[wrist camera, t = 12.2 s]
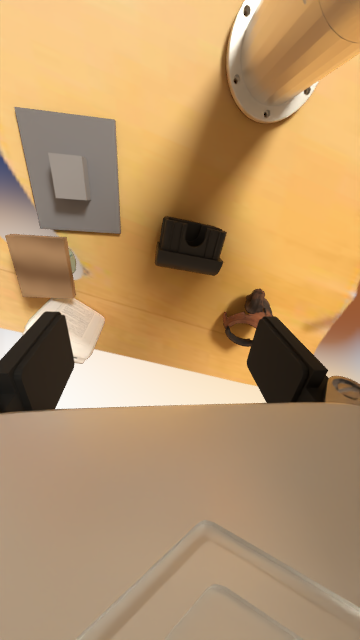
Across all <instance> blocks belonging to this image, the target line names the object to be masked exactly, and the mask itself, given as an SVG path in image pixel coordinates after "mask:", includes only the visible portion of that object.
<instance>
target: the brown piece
mask: <svg viewBox="0 0 360 640" xmlns="http://www.w3.org/2000/svg"><path fill="white" fill-rule="evenodd" d="M264 297H265V293H264V291H262V290H261V289H255V290H254V291H253V292H252V294H250V295H248V296H246V299H247V301H246V304H245V308H246V311H247V312H248V313H250V314H247V315H245V312H240V313H237V314H234V315H232V316H230V317H228V318H227V315H226V314H227V313H226V312H224V316H223V322H224V323H223V324H224V326H225V329H226V330H225V333H226V335H227V337H228V338H229V339H230V340H231V341H233V342H234V343H236V344H238V345H241V346H247V347H249V346H251V345H252V342H253V340H250V339H242V338H239V337H236V336H235V335H234V334H233V333H231V332H230V328H229V327H231V326H232V325H234V324H238V323H246V324H249V325H251V326H253V327H255V328H257V325H258V322H259V320H260V319H262V318H263V317H264V316H271V317H273V315H272V311H271V308H270V305H269V303H268V301H267V300H266V299H265V298H264ZM263 309H264V312H263Z"/></svg>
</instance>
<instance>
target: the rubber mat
mask: <svg viewBox="0 0 360 640" xmlns="http://www.w3.org/2000/svg"><path fill="white" fill-rule="evenodd" d="M15 112H16V117H17V121H18V126H19V131H20V135H21V140H22V145H23V149H24V154H25V159H26V163H27V168H28V173H29V178H30V182H31V187H32V192H33V196H34V201H35V206H36V210H37V215H38V219H39V224H40V228H41V229H56V230H71V231H87V232H102V233H117V234H121V227H120V206H119V186H118V165H117V145H116V124H115V120H113V119H105V118H97V117H89V116H81V115H74V114H66V113H58V112H50V111H42V110H34V109H27V108H19V107H15Z"/></svg>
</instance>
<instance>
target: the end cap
mask: <svg viewBox="0 0 360 640" xmlns="http://www.w3.org/2000/svg"><path fill="white" fill-rule="evenodd" d="M226 233H227V232H225V231H222V229H220V228H216V227H214V226H210V225H205V224H201V223H196V222H191V221H187V220H182V219H178V218H173V217H169V216H166V217H164V218H163V223H162V229H161V236H160V242H157V249H156V257H155V265H157V266H162V267H168V268H173V269H179V270H185V271H190V272H196V273H202V274H207V275H213V276H215V275H217V274H218V272H219V271H220V269H221V267H222V264H223V261H222V260H221V259H220V258H219V257H220V254H221V250H222V247H223V243H224V240H225V236H226Z"/></svg>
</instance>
